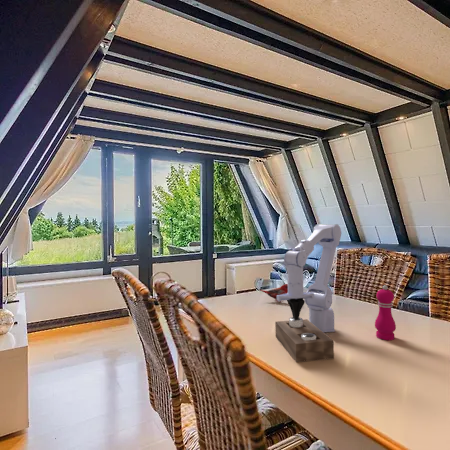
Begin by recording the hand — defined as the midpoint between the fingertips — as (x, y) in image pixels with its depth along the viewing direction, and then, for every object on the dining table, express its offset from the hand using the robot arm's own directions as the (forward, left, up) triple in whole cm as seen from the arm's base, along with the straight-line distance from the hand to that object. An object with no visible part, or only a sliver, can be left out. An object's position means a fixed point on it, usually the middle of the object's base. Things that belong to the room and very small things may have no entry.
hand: (295, 318), depth 124 cm
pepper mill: (-34, +4, -9) cm, 35 cm away
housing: (0, +6, -8) cm, 10 cm away
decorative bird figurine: (-8, -53, -9) cm, 54 cm away
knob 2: (0, +12, -8) cm, 14 cm away
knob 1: (0, 0, -6) cm, 6 cm away
